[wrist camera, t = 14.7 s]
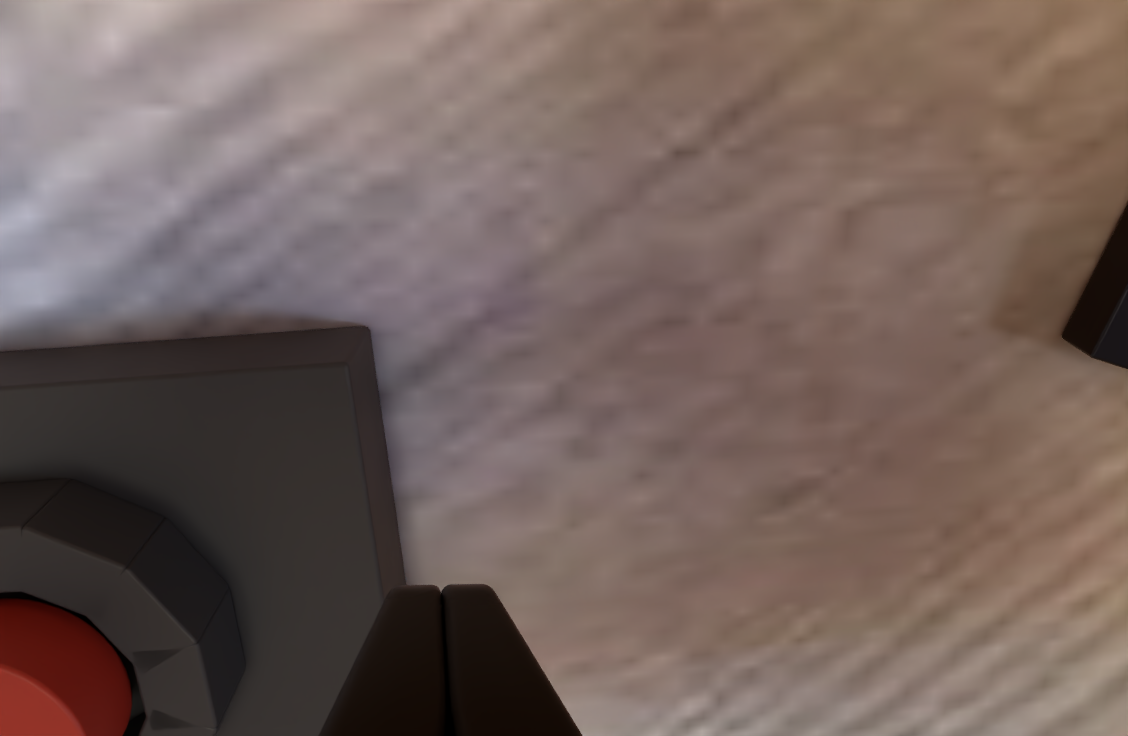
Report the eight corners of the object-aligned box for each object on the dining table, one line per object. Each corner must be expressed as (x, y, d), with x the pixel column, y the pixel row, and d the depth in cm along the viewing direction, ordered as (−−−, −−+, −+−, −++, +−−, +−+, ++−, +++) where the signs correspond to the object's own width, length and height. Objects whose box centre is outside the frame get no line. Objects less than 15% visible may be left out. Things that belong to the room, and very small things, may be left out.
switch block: (370, 324, 19) (325, 401, 16) (431, 754, 23) (406, 903, 19) (-254, 369, 20) (-448, 456, 16) (-103, 789, 23) (-233, 943, 19)
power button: (108, 588, 17) (61, 650, 15) (152, 764, 18) (114, 838, 17) (-104, 602, 17) (-174, 666, 16) (-46, 776, 18) (-105, 852, 17)
